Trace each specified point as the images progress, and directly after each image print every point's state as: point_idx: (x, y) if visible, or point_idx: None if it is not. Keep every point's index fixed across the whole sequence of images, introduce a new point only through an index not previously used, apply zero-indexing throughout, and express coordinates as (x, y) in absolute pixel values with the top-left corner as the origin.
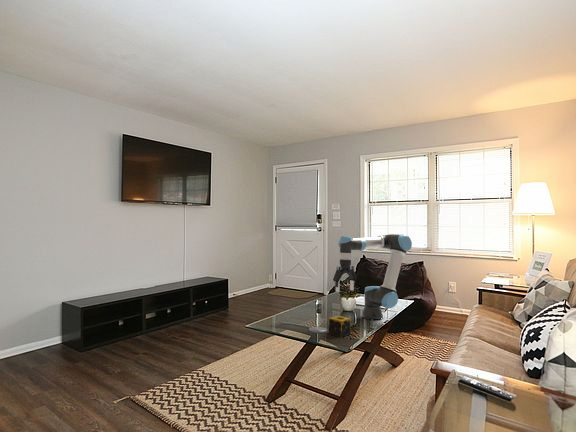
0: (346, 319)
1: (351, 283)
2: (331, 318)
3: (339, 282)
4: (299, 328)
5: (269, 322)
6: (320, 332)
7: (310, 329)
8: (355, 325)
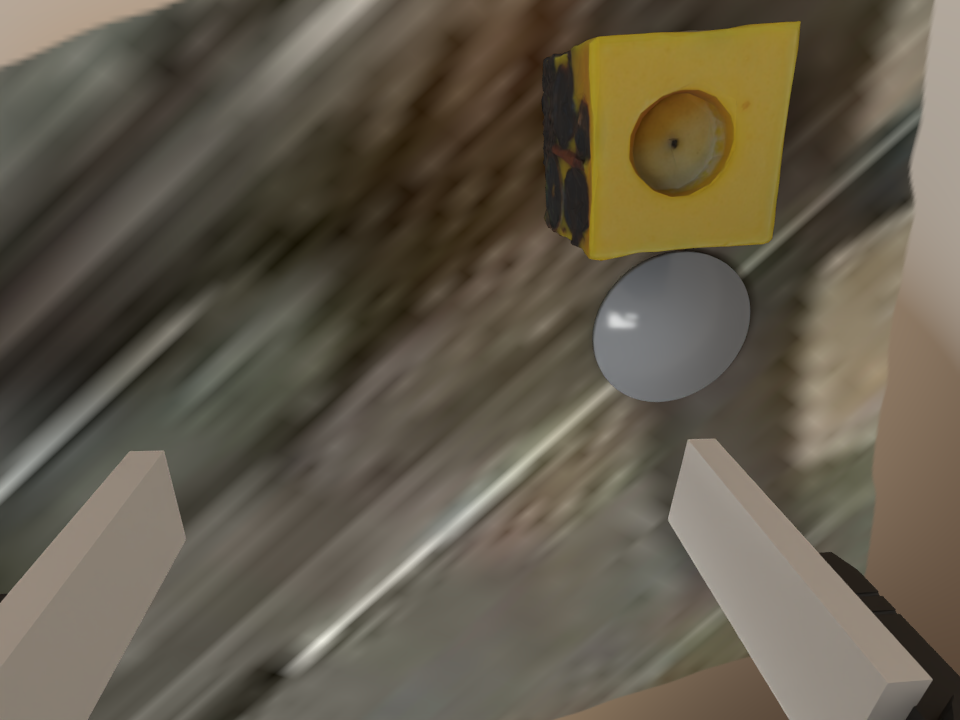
0: (681, 40)
1: (62, 676)
2: (771, 204)
3: (886, 669)
4: (722, 441)
5: None
6: (725, 263)
7: (712, 367)
8: (256, 249)
